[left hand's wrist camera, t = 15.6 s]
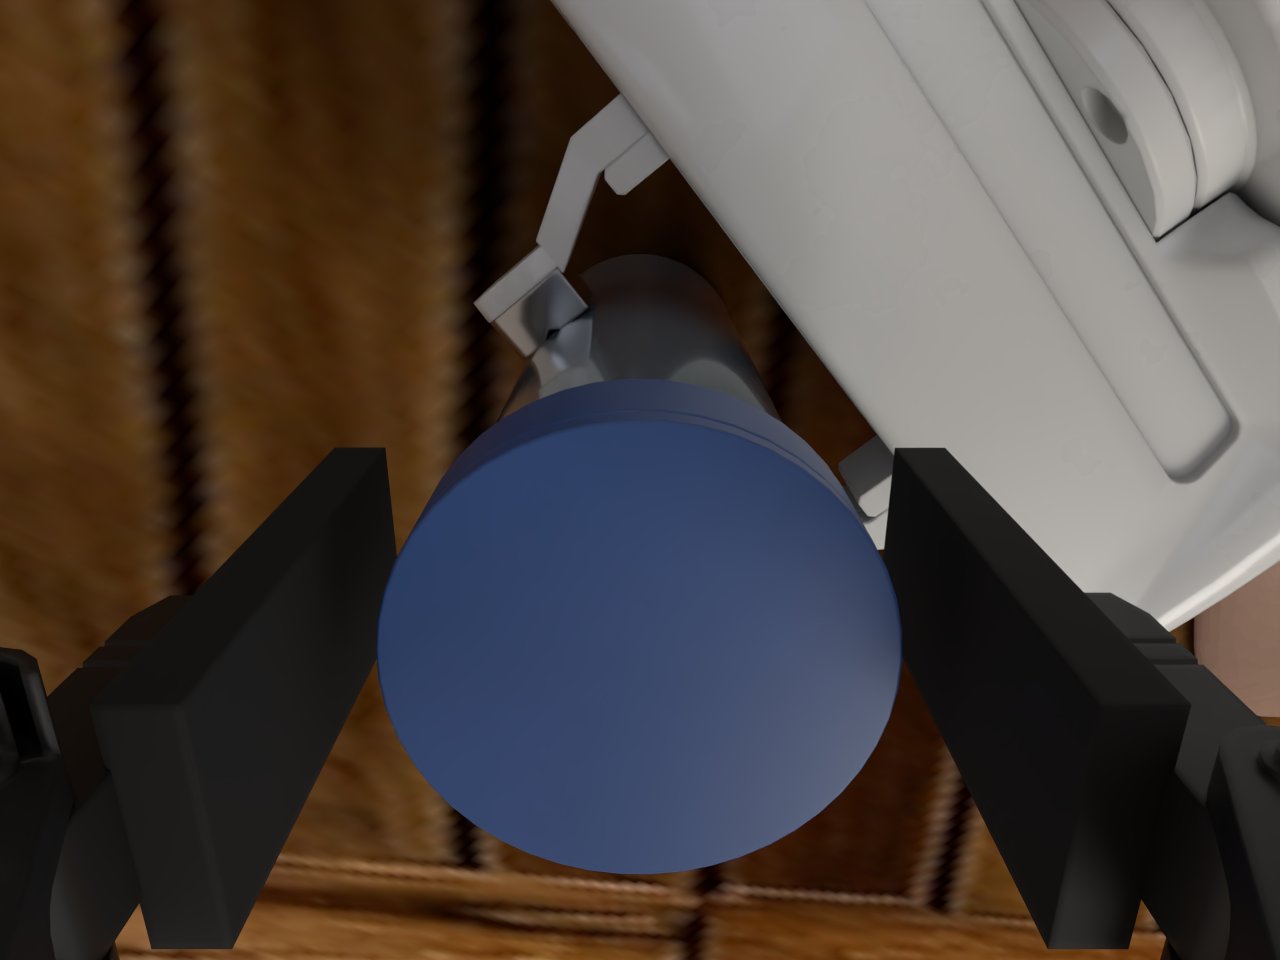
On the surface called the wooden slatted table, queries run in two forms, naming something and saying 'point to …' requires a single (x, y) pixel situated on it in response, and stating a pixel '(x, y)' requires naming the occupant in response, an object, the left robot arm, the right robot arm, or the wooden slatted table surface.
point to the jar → (644, 336)
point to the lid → (639, 630)
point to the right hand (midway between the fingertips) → (608, 450)
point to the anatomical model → (1245, 642)
